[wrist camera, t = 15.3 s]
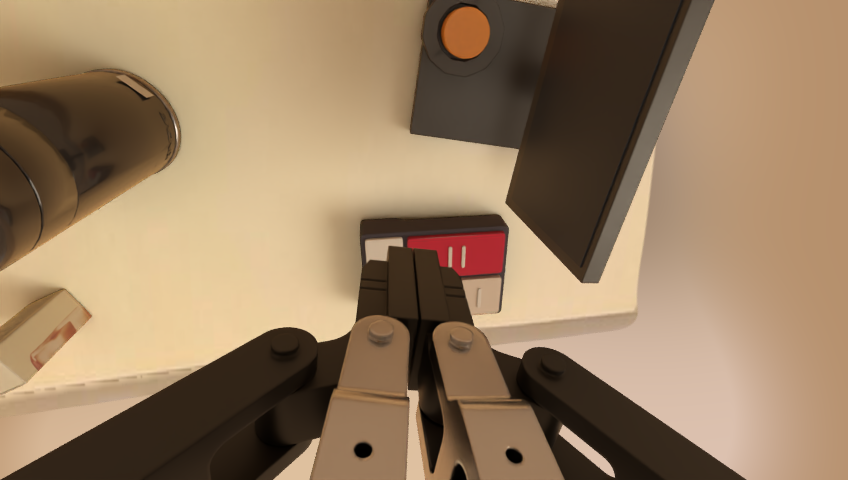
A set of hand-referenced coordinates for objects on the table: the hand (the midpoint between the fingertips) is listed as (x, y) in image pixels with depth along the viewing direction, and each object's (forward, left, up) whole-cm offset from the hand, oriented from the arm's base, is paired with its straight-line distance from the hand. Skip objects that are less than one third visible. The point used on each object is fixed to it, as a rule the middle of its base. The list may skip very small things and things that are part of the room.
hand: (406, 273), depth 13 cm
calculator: (+6, -16, -29) cm, 34 cm away
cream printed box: (-34, -27, -29) cm, 52 cm away
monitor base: (+9, +4, -29) cm, 31 cm away
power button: (+4, +7, -26) cm, 28 cm away
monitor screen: (+11, +4, -21) cm, 24 cm away
